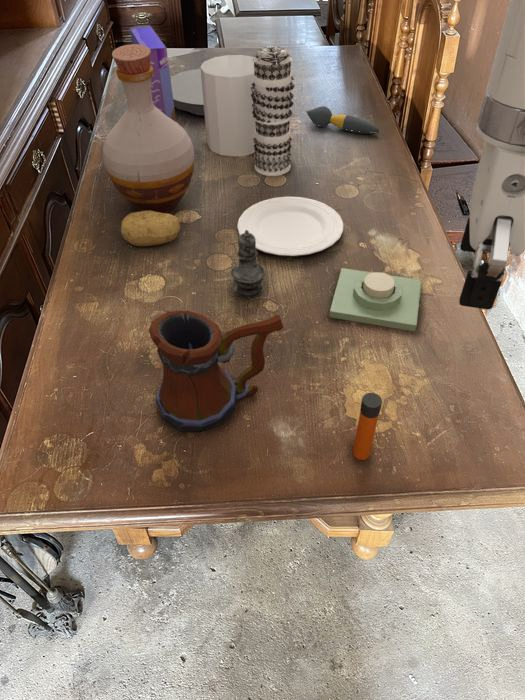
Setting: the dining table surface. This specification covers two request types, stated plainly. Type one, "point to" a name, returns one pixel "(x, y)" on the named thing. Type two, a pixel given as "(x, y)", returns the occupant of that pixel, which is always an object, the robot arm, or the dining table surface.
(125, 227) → the potato
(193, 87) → the flat disc
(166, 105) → the cereal box
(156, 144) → the jug
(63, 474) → the dining table surface
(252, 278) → the chess piece
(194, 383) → the mug
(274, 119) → the decorative candle
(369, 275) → the circle pad
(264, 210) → the plate
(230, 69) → the container
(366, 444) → the marker
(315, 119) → the paintbrush
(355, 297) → the push button block
